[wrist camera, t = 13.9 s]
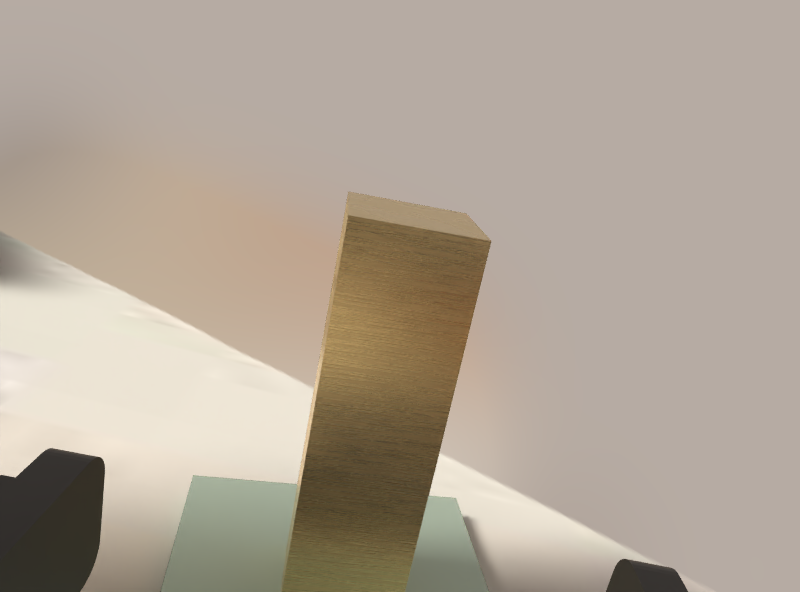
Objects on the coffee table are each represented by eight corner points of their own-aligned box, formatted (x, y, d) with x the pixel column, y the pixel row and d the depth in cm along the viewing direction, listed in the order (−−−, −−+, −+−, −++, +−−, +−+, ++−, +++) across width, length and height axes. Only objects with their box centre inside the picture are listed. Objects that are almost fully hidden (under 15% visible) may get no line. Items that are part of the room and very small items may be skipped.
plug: (275, 625, 21) (348, 215, 17) (286, 543, 25) (348, 191, 21) (394, 636, 22) (491, 241, 18) (387, 555, 26) (466, 213, 22)
